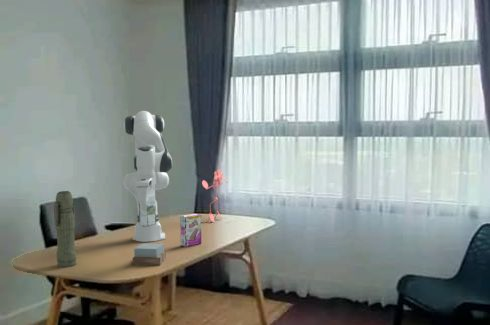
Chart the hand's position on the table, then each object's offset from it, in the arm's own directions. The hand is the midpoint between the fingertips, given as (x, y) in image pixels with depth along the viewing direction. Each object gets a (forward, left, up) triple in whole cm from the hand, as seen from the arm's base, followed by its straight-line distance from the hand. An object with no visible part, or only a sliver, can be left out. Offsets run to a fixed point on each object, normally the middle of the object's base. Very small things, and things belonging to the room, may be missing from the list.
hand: (147, 209), depth 263 cm
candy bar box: (-35, +15, -25) cm, 46 cm away
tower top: (0, 0, -22) cm, 22 cm away
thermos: (+6, -38, -25) cm, 46 cm away
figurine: (-104, +23, -25) cm, 109 cm away
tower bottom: (0, 0, -26) cm, 26 cm away
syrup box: (0, 0, -8) cm, 8 cm away
